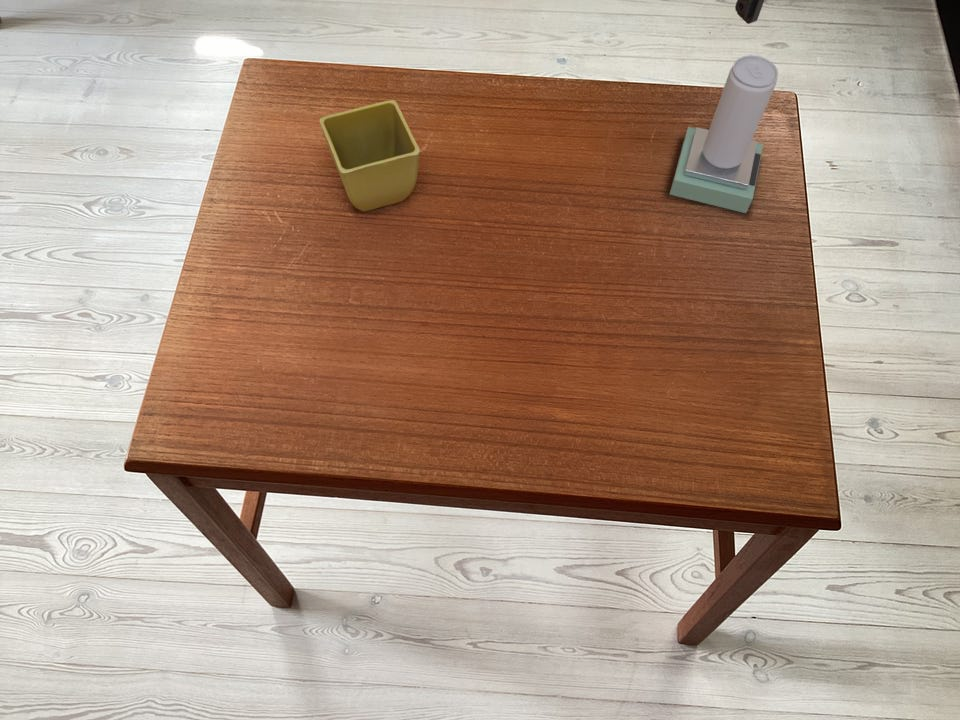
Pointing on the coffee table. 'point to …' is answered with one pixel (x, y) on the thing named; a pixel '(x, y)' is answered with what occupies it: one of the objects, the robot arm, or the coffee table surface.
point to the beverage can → (739, 110)
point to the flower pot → (373, 154)
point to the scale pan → (704, 170)
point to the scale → (712, 183)
